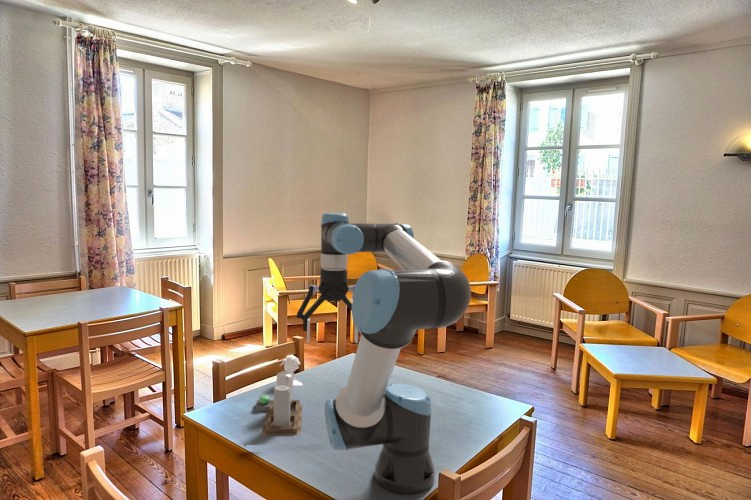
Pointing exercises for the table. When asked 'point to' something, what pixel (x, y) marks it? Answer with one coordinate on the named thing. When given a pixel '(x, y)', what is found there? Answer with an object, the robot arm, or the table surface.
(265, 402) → the button
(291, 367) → the figurine
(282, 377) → the billet
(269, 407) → the pallet
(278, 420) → the beverage can
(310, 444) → the table surface
